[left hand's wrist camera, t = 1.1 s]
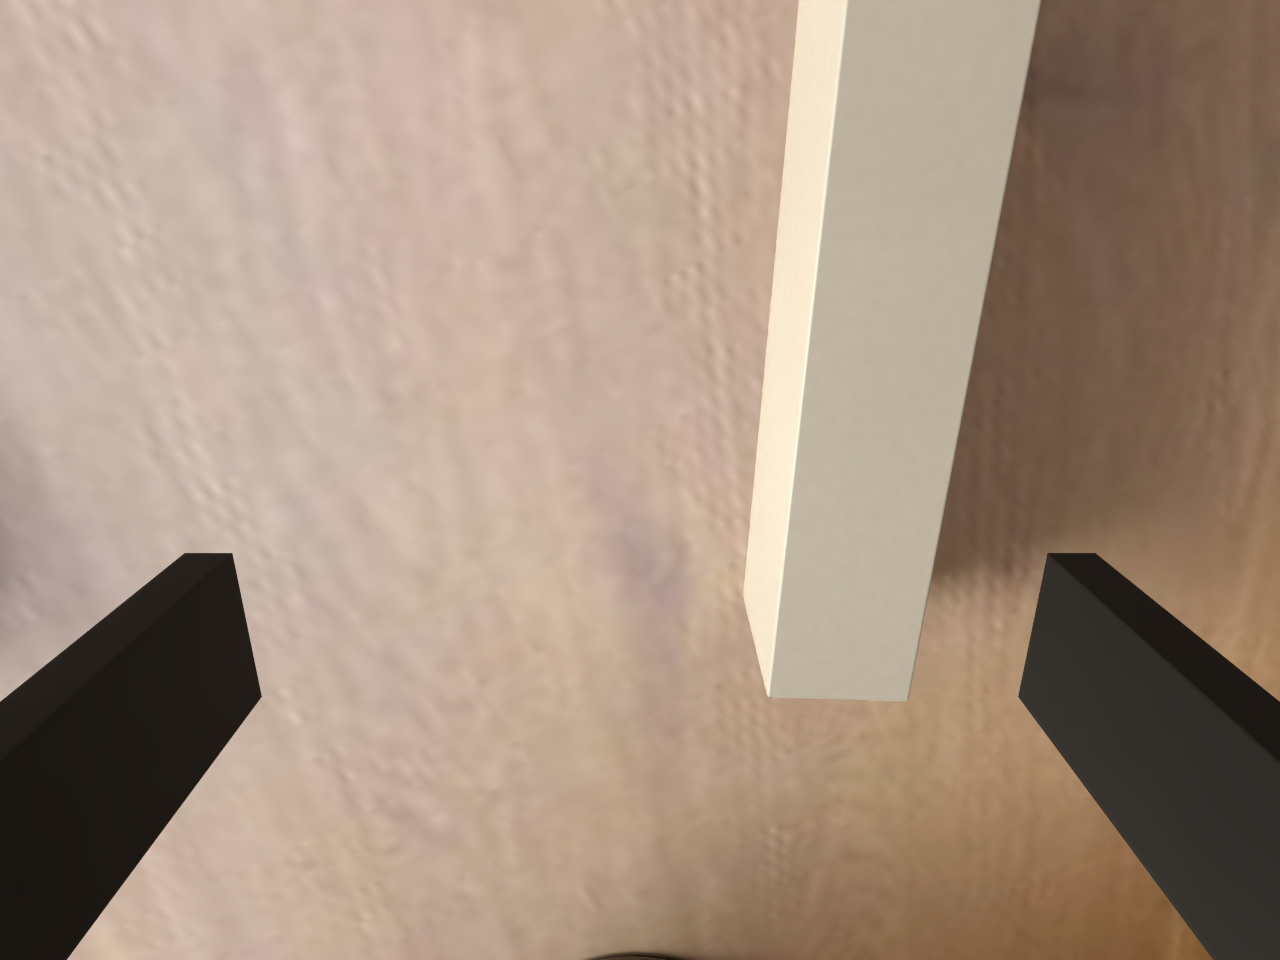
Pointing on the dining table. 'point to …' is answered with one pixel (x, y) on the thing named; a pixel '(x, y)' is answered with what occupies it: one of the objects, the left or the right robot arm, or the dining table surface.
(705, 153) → the dining table surface
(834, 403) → the post
